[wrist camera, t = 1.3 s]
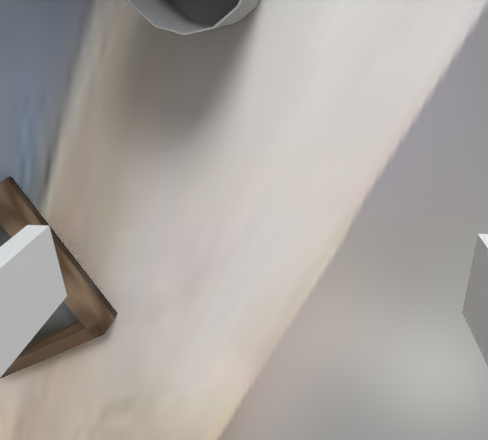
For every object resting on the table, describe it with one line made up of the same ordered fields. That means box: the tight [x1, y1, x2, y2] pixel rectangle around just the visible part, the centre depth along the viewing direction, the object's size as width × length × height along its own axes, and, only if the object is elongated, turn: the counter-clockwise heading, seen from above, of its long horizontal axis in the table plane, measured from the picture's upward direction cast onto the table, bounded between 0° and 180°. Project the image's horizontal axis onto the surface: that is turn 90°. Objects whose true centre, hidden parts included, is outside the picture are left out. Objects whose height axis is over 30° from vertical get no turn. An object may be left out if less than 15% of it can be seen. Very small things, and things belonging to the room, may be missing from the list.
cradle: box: [0, 177, 117, 378], centre depth 49 cm, size 18×16×4 cm
